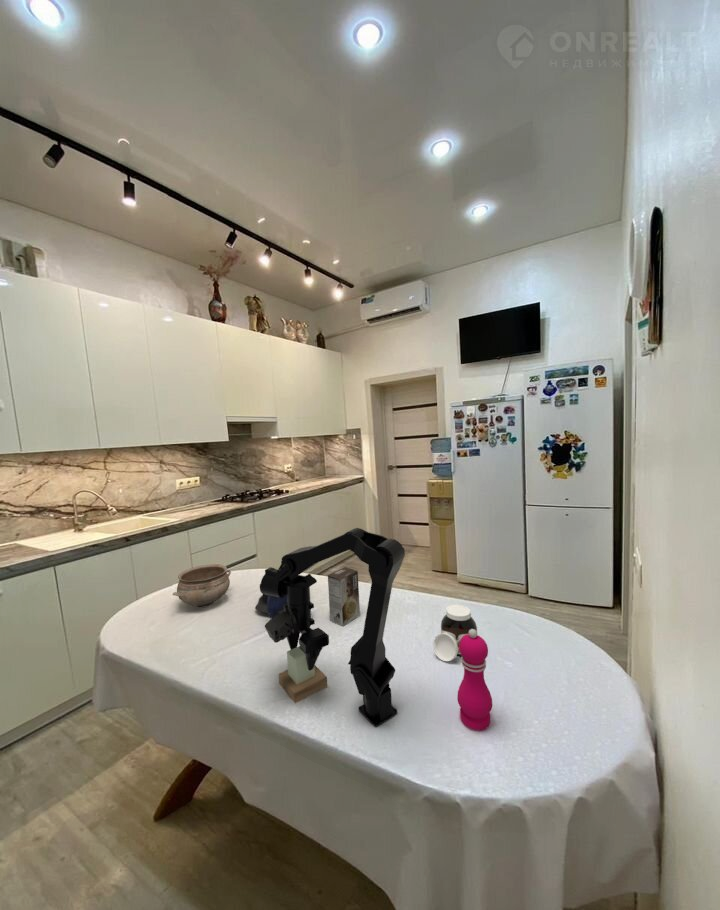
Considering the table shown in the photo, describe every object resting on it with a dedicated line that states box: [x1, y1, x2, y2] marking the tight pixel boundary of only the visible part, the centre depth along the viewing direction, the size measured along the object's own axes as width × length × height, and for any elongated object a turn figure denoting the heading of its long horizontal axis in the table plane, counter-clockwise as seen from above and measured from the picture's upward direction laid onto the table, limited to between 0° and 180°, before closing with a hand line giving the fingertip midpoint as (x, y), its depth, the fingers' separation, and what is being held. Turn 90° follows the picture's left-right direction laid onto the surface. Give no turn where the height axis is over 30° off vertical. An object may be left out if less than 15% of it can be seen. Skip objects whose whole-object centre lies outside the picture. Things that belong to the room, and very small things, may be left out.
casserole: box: [254, 589, 269, 614], centre depth 138 cm, size 25×19×8 cm
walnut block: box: [278, 664, 328, 704], centre depth 91 cm, size 9×9×3 cm
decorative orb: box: [267, 595, 287, 620], centre depth 122 cm, size 14×15×15 cm
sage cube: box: [286, 645, 316, 684], centre depth 91 cm, size 5×5×6 cm
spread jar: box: [432, 604, 478, 662], centre depth 101 cm, size 12×11×12 cm
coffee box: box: [327, 567, 361, 627], centre depth 124 cm, size 9×6×16 cm
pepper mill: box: [456, 629, 493, 732], centre depth 77 cm, size 7×7×20 cm
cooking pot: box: [172, 563, 232, 608], centre depth 140 cm, size 25×19×12 cm
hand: (301, 660), depth 91 cm, fingers open, 9 cm apart
